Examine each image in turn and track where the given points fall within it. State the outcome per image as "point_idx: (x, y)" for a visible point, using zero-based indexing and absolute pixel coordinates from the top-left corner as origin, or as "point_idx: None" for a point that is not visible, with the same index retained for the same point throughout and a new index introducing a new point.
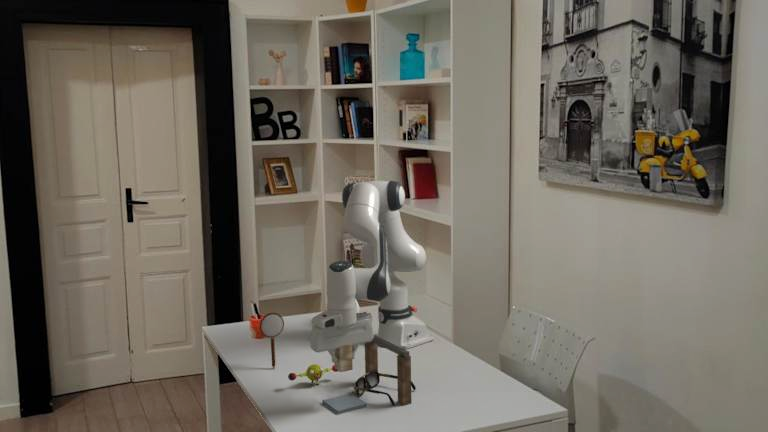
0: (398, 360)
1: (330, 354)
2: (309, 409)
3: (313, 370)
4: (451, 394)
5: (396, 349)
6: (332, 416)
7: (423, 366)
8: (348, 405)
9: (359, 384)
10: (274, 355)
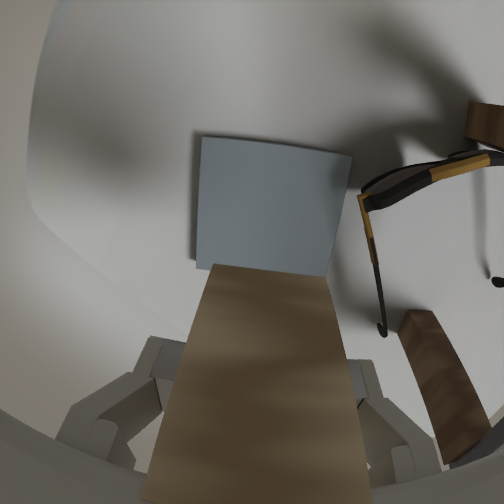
0: (457, 434)
1: (107, 393)
2: (134, 157)
3: None
4: (495, 339)
5: (493, 448)
6: (174, 262)
7: None
8: (257, 255)
9: (408, 170)
10: None
